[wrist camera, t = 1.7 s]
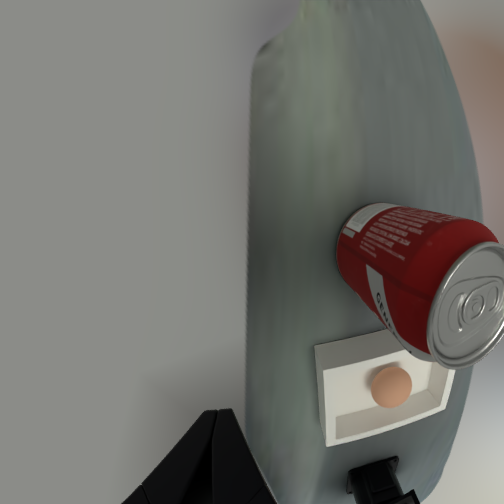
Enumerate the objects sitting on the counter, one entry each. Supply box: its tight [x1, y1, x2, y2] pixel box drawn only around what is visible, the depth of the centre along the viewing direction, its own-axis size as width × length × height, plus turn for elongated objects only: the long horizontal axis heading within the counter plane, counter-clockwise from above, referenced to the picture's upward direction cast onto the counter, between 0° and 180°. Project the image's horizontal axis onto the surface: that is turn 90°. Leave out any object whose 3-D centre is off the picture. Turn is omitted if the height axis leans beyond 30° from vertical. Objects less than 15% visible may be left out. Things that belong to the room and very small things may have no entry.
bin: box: [314, 329, 455, 447], centre depth 21 cm, size 9×12×4 cm
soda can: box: [336, 203, 504, 370], centre depth 15 cm, size 7×7×12 cm
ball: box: [371, 367, 412, 408], centre depth 21 cm, size 4×4×4 cm
